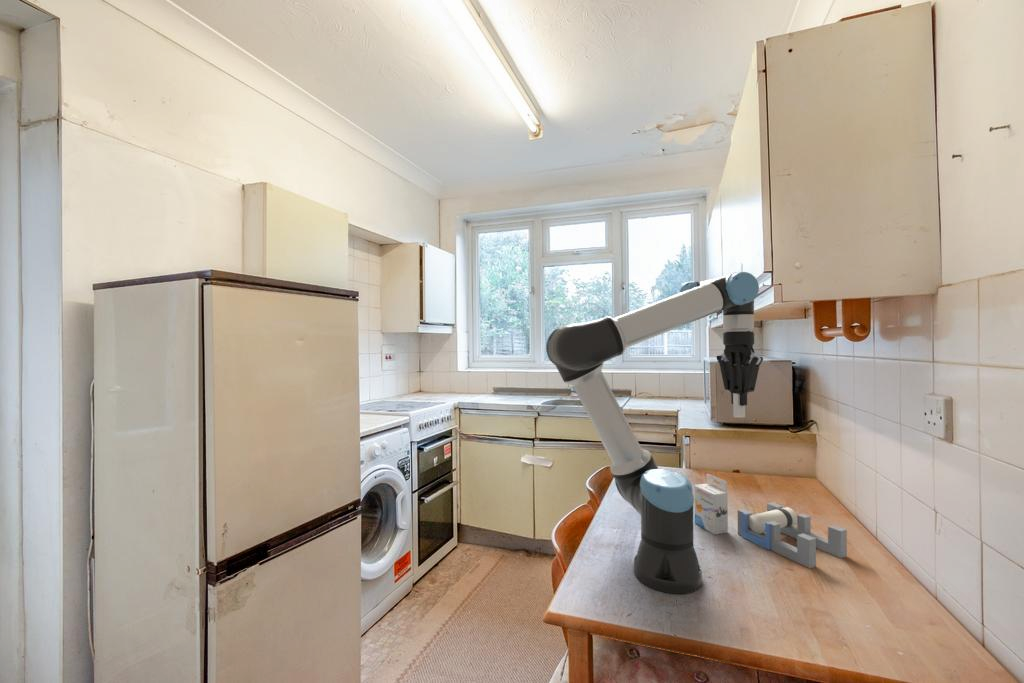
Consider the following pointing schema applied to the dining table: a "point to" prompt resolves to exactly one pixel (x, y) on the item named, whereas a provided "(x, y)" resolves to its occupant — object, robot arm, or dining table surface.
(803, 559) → the bracket
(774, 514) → the banded white cylinder
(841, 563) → the dining table surface
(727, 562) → the dining table surface
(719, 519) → the ink box
